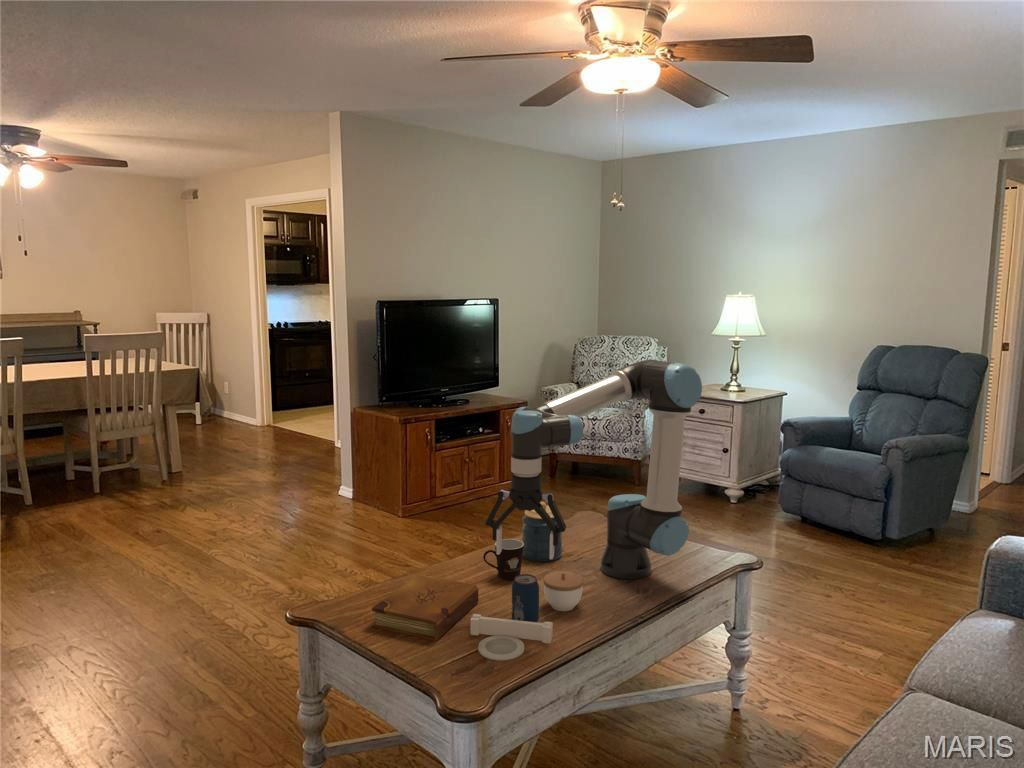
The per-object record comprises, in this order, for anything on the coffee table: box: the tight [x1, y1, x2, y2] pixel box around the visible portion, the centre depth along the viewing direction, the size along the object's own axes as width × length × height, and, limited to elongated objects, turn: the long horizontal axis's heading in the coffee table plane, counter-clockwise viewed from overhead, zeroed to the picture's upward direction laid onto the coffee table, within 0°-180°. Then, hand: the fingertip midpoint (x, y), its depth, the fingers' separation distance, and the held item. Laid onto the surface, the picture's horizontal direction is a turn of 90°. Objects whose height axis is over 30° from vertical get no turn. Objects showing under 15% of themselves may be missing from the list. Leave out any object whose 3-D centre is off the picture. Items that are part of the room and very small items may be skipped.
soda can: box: [511, 573, 540, 623], centre depth 183 cm, size 7×7×12 cm
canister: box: [521, 501, 563, 563], centre depth 229 cm, size 13×13×18 cm
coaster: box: [477, 635, 525, 662], centre depth 171 cm, size 11×11×1 cm
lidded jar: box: [543, 570, 584, 612], centre depth 193 cm, size 11×11×9 cm
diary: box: [371, 574, 479, 642], centre depth 188 cm, size 23×19×6 cm
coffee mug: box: [482, 538, 524, 581], centre depth 213 cm, size 12×9×10 cm
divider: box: [470, 613, 554, 645], centre depth 176 cm, size 20×3×4 cm, turn 78°
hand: (525, 555), depth 181 cm, fingers open, 13 cm apart
